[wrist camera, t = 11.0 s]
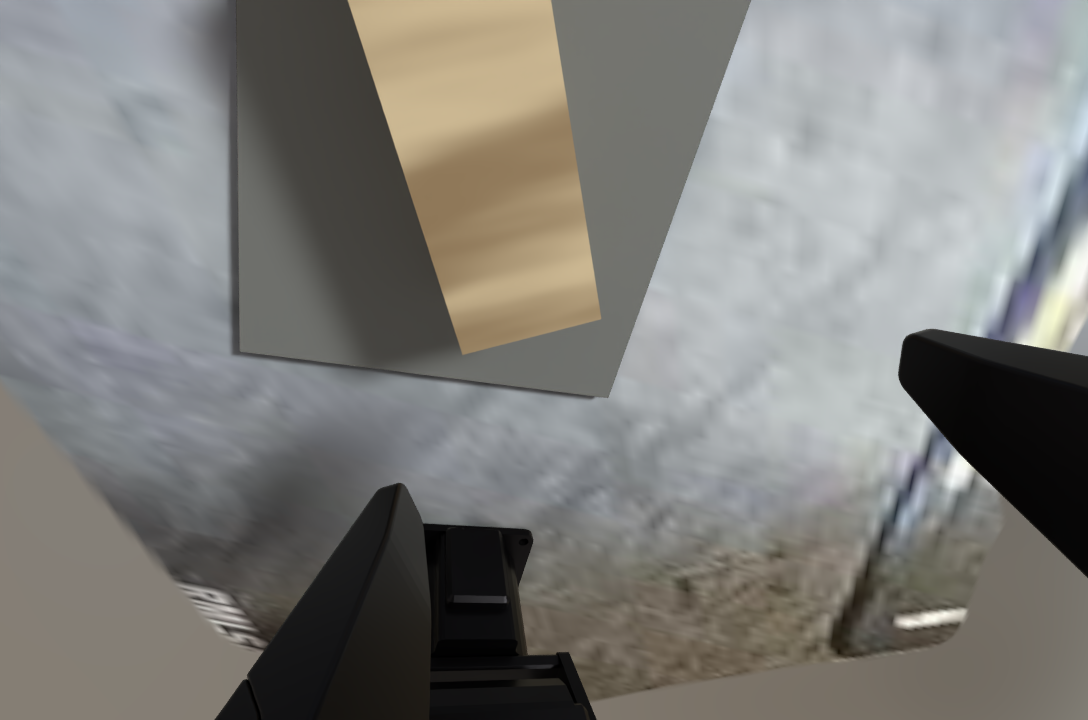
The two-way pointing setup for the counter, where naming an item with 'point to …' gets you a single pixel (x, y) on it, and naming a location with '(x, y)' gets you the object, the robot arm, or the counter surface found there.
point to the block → (486, 159)
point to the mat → (387, 207)
